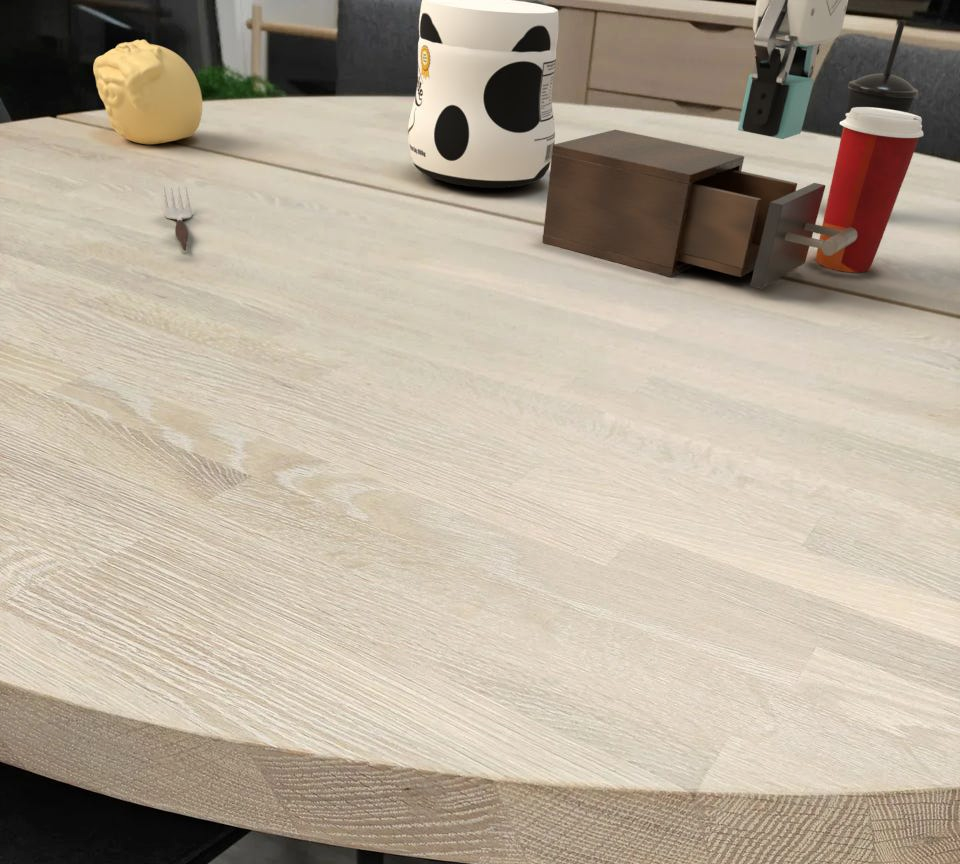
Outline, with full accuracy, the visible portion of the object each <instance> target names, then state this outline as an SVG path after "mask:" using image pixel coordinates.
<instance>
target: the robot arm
mask: <svg viewBox="0 0 960 864" xmlns="http://www.w3.org/2000/svg"><path fill="white" fill-rule="evenodd" d="M848 3H849V0H756V2H755V8H754V13H753V14H754V15H753V22H752V30H753V33H754V39H753V47H754V51H755V53H754V54H755V56H754V59H755V63H754V66H753V70H752V73H751V74H752V84H751V89H750V93H749V98H748V102H747V107H746V112H745V116H744V121H743V125H742V128H743V130H744V131H743V132H745V131H746V132H745V133H750V132H751V133H750V134H755V133H756V134H755V135H760V134H761V136H765V135H766V137H769V136H771V137H770V138H773V137H772V136H775V135H777V134H778V132H779V127H780V123H781V119H782V115H783V111H784V106H785V102H786V98H787V94H788V90H789V85H785V83H786V80H787V77H788V75H794V76H800V77H806V78H811V79H812V77H813V74H814V71H815V67H816V60H817V56H818V55H819V53H820V46H821V45H822V44H827V43H831V42H832V41H834V40H836V39H837V38H838V37H839V36H840V34H841V32H842V29H843V27H844V21H845V16H846V14H847V13H846V12H847V8H848ZM780 37H784V39H780ZM781 51H782V53H781Z"/></svg>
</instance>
